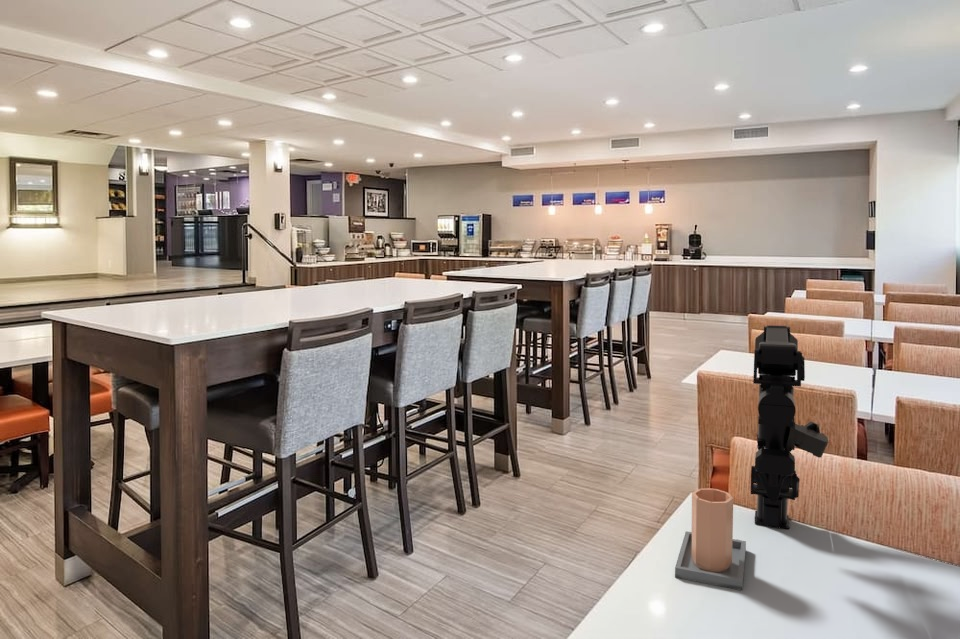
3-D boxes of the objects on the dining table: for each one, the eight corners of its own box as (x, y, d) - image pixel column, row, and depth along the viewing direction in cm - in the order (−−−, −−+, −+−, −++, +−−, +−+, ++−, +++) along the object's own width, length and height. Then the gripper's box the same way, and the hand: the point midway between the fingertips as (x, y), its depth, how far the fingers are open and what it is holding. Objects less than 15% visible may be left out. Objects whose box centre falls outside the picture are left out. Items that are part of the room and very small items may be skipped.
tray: (685, 539, 121) (685, 531, 121) (745, 550, 117) (745, 541, 116) (675, 577, 108) (675, 567, 108) (742, 590, 103) (742, 580, 103)
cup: (703, 551, 115) (704, 485, 114) (736, 563, 111) (738, 495, 109) (686, 563, 111) (686, 495, 110) (720, 577, 106) (721, 506, 105)
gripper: (830, 429, 100) (827, 520, 102) (822, 402, 117) (819, 480, 119) (756, 423, 105) (754, 509, 107) (758, 398, 122) (756, 473, 123)
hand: (773, 492), depth 114 cm, fingers open, 9 cm apart
